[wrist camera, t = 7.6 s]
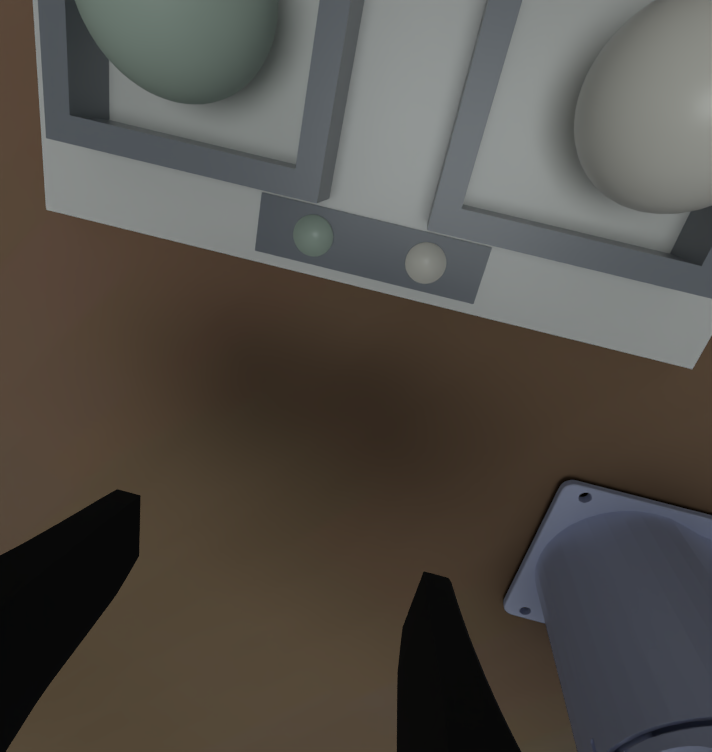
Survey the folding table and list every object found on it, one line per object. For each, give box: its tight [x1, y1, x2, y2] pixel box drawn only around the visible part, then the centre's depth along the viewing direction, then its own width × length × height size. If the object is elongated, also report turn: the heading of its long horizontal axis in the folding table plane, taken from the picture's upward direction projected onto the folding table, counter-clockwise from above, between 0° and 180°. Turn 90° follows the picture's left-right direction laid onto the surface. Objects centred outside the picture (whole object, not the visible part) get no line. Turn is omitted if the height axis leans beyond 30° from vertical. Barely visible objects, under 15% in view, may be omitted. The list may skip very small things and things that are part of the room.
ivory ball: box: [574, 0, 712, 214], centre depth 12 cm, size 5×5×5 cm
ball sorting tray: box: [33, 0, 712, 369], centre depth 14 cm, size 24×14×3 cm, turn 78°
